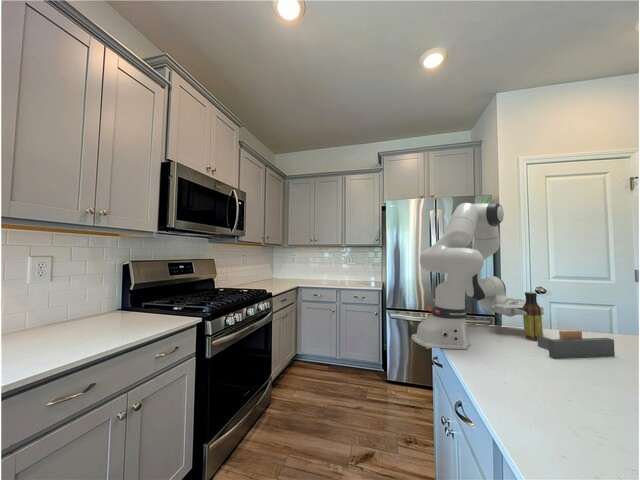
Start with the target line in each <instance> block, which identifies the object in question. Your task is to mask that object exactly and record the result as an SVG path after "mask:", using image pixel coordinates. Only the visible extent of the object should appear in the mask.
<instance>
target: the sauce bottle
mask: <svg viewBox="0 0 640 480" xmlns="http://www.w3.org/2000/svg"><path fill="white" fill-rule="evenodd" d="M524 296H525V300H526V303H525V304H524V306H523V311H527V312H528V313H527V314H528V315H522V318H523V320H522V321H523V330H524V331H523V332H524V337H525V338H526V339H528V340H531V341H538V336H544V331H543V317H542V316H543V315H541V308H540V307H539V305H540V304H538V301H537V296H538V294H537V292H534V291H525V292H524Z"/></svg>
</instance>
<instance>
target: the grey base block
mask: <svg viewBox="0 0 640 480" xmlns="http://www.w3.org/2000/svg"><path fill="white" fill-rule="evenodd" d="M537 346H538V347H540V348H542V349H545V350H548V356H549V358H552V359H554V360H556V359H558V360H559V359H581V358H582V359H583V358H585V359H587V358H588V359H589V358H608V357H609V358H610V357H615V353H616V352H615V339H613V338H611V337H590V338H589V337H588V338H587V337H586V338H583V337H582V339H560V338H556V339H552V338H550V337H546V336H544V335H543V336H538V340H537Z"/></svg>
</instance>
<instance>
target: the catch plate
mask: <svg viewBox="0 0 640 480" xmlns="http://www.w3.org/2000/svg"><path fill="white" fill-rule="evenodd" d="M558 333H559V339H582V338H583V331H582V330H578V329H572V330H571V329H570V330H567V329H566V330H559V331H558Z"/></svg>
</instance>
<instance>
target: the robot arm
mask: <svg viewBox="0 0 640 480" xmlns="http://www.w3.org/2000/svg"><path fill="white" fill-rule="evenodd" d="M504 213H505V212H504V208H503V206H502V205H501V204H500V203H498V202H488V203H484V202H483V203H471V202H461V203H460V204H459V205H457V207H455V208H454V209H453V210H452V212H451V215H450V219H449V221H448V222H447V225H446V228H445V231H444V233H442V235H441V237H440V238H439V239H438V240H437V241H436V242H435V243H434V244H433V245H432V246H430V247H428V248H426V249H424V250H423V251H421V254H420V257H419V264H420V266H421V268H422V269H423V270H424V271H428V272H431V273H436V274H437V273H439V274H447V277H446V279H445V281H442V282H441V283H439V284H438V285H436V287H435V291H434V292H435V304H434V307H432V306H430V305H428V306H427V307H426V310H427V311H428V312H431V314H430V315H429V316H427V317H426V318H425V319H424V320H422V321H421V322H420V323H418V326H417V329H416V333H413V334H412V335H411V339H412V341H414V342H415V343H417V344H418V345H420V346H422V347H425V348H427V349H444V350H445V349H449V350H468V347H469V346H470V345H471V342H470V338H469V335H468V330H467V308H466V296H467V297H469V298H470V299H471V300H473V301H476V302H478V304H479V305H480V307H482V308H484V309H485V310H487V311H490V312H493V313H496V314H499V315H502V316H506V317H515V316H523V315H528V314H527V313H528V312H527V311H523V306H524V304H525V303H526V299H520V298H519V299H517V298H513V297H508V296H506V295H507V289H506V284H505V282H504V281H503V280H502V279H501V278H500V277H498V276H496V275H495V276H488V277H484V278H481V271H482V270H483V268H484V265H485V260H486V259H488V258H489V257H490V256H493V255H494V254H495V253H497V251H498V250H499V248H500V244H501V241H500V239H501V238H500V232H499V228H498V226H499V225H500V224H501V223H502V222H503V219H504V215H505V214H504ZM472 240H473V241H472ZM472 242H473V243H472ZM470 243H472V247H471V248H470V247H469V248H468V247H467V246H469V245H470ZM538 305H539V307H540V308H541V315H542V316H544V315H545V314H544V313H545V312H544V306H542V305H540V304H538Z"/></svg>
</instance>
